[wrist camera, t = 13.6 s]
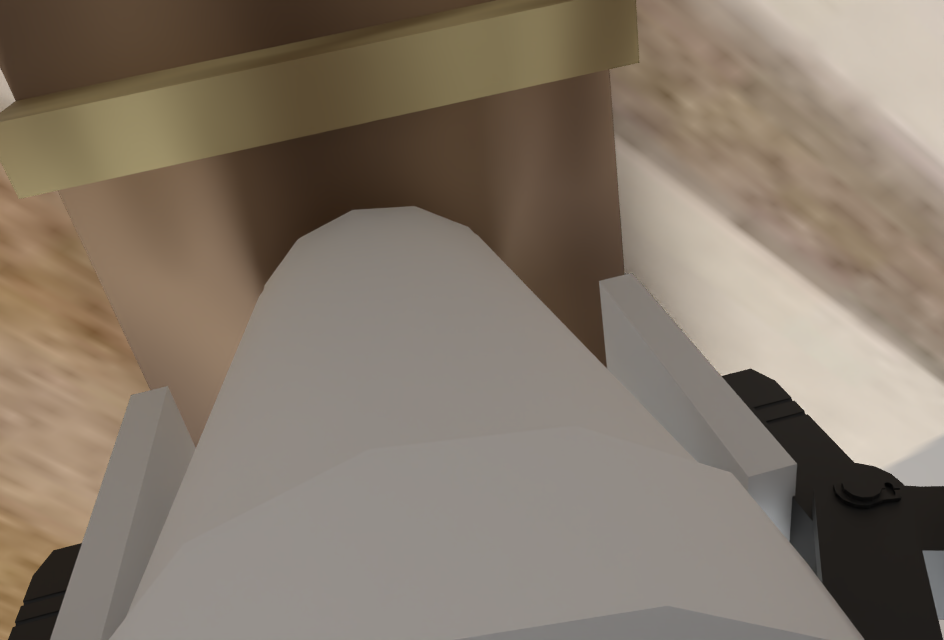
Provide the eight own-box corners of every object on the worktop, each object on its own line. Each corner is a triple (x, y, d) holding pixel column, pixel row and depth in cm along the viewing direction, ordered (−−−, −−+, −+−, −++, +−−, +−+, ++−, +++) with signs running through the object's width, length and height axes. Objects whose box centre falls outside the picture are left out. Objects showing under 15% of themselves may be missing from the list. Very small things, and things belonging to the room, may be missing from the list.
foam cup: (638, 331, 21) (1032, 847, 10) (377, 528, 22) (455, 1169, 11) (407, 46, 16) (649, 399, 5) (99, 320, 18) (-241, 1055, 7)
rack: (516, -791, 13) (581, -1000, 10) (619, 405, 25) (661, 474, 22) (-310, -689, 12) (-518, -885, 9) (225, 507, 24) (214, 593, 21)
